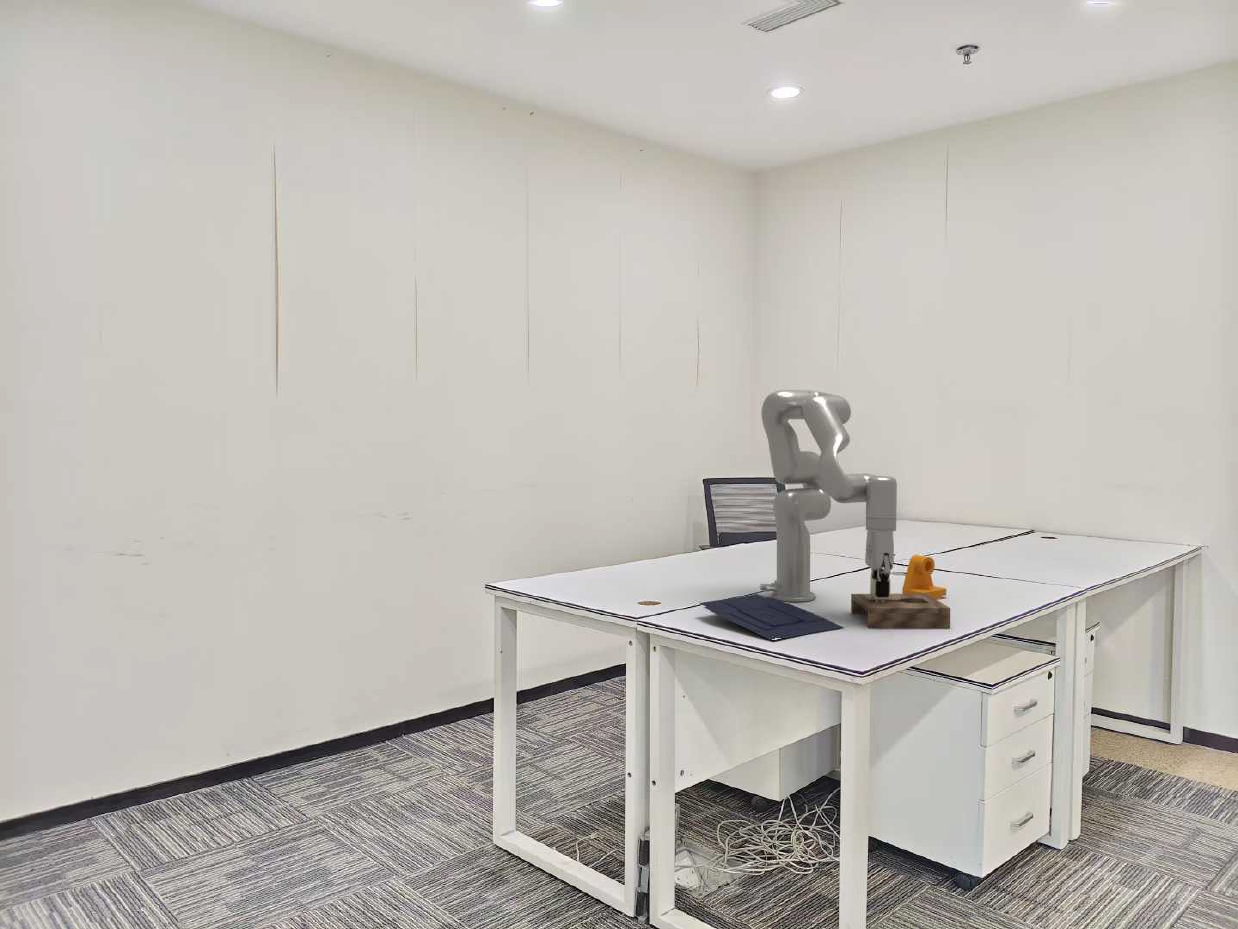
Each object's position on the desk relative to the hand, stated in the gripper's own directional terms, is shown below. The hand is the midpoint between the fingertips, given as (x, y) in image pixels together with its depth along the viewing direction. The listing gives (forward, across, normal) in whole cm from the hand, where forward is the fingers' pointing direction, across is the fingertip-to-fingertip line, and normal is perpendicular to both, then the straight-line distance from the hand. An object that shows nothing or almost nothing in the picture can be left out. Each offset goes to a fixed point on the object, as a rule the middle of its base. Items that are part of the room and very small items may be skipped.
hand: (879, 594), depth 230 cm
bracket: (+7, -28, +21) cm, 35 cm away
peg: (+6, 0, 0) cm, 6 cm away
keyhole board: (+7, 0, +5) cm, 8 cm away
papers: (+7, +3, -30) cm, 31 cm away
